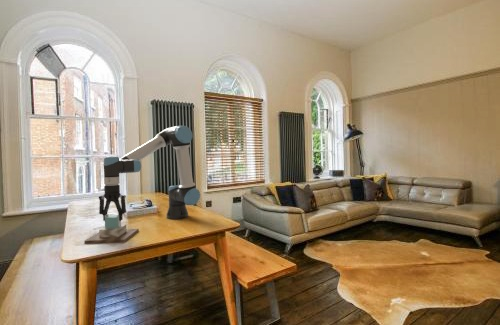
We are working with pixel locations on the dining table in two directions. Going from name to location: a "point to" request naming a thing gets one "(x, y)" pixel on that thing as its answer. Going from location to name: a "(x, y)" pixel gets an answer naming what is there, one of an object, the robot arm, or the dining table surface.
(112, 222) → the cube
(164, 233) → the dining table surface
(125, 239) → the base
